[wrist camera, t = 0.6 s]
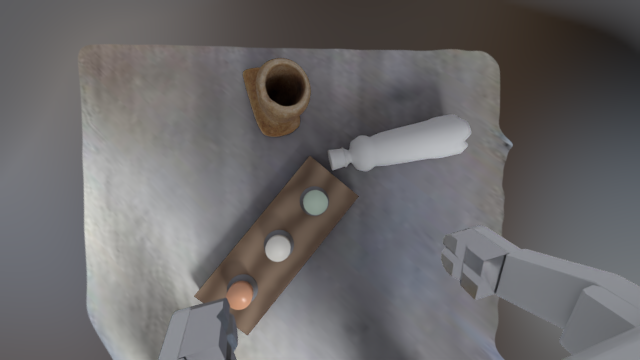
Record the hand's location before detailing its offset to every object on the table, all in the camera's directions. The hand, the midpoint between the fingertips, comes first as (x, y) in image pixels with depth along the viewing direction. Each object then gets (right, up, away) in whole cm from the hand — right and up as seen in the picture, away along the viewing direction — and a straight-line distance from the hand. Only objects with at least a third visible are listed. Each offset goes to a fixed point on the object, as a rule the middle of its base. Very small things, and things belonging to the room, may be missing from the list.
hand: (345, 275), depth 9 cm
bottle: (+15, +11, +50) cm, 53 cm away
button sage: (-2, -1, +43) cm, 43 cm away
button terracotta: (-17, -20, +42) cm, 49 cm away
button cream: (-10, -10, +43) cm, 45 cm away
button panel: (-10, -10, +47) cm, 49 cm away
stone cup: (-10, +21, +47) cm, 53 cm away
